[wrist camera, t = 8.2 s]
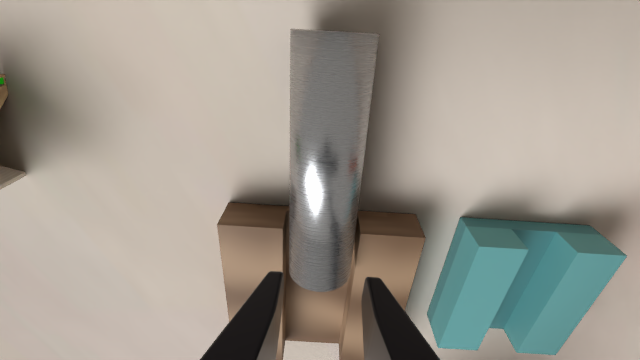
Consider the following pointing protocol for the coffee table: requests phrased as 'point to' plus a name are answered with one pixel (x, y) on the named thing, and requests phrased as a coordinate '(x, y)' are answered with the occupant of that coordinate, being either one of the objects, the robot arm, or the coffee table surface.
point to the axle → (327, 150)
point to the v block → (519, 282)
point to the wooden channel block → (309, 306)
